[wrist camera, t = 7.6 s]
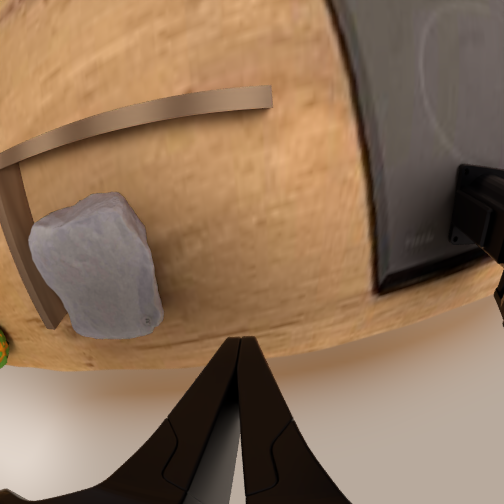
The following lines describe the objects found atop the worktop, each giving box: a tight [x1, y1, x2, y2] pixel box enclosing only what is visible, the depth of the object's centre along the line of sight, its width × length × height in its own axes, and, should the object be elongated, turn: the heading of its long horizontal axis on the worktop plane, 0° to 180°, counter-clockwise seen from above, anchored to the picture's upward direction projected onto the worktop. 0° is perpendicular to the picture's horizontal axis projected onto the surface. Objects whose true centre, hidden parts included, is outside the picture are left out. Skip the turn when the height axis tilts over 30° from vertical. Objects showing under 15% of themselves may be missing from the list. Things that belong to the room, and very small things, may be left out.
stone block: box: [28, 192, 164, 339], centre depth 21 cm, size 12×5×10 cm
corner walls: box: [0, 85, 273, 330], centre depth 19 cm, size 22×16×3 cm
